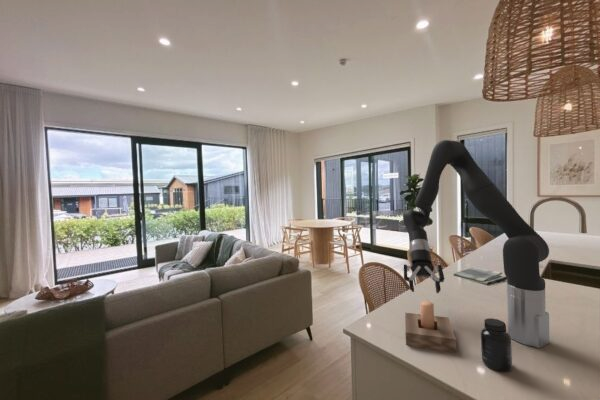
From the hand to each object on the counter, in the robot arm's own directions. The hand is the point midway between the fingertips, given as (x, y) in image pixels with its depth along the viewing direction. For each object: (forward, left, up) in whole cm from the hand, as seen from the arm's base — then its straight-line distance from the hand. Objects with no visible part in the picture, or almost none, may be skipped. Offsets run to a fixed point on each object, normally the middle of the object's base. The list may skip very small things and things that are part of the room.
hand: (425, 292), depth 100 cm
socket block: (-9, +9, -10) cm, 16 cm away
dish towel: (+18, -60, -11) cm, 64 cm away
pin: (-9, +9, -9) cm, 16 cm away
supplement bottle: (-27, +5, -10) cm, 29 cm away
